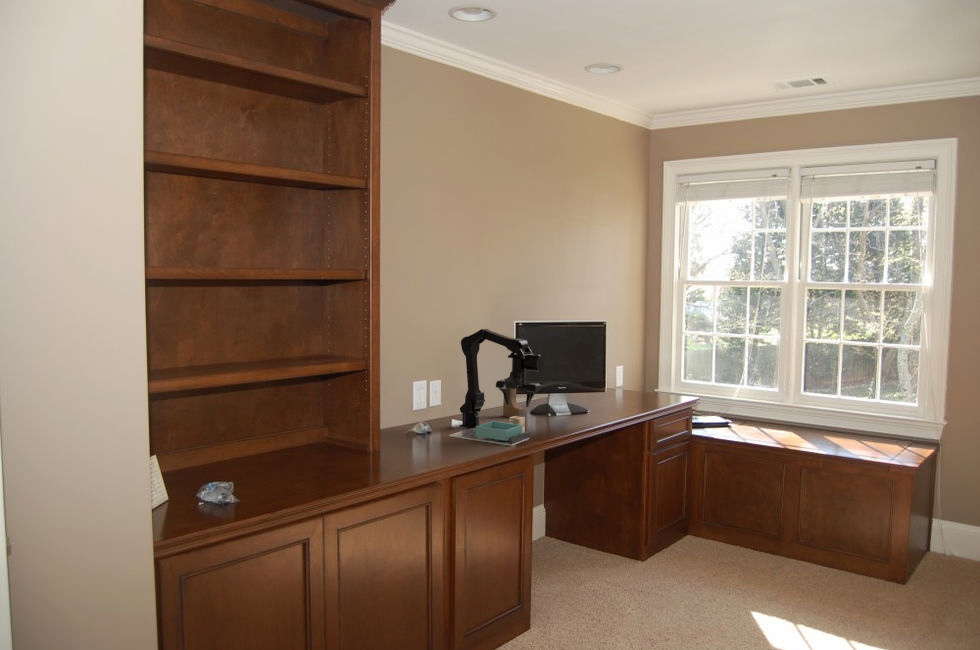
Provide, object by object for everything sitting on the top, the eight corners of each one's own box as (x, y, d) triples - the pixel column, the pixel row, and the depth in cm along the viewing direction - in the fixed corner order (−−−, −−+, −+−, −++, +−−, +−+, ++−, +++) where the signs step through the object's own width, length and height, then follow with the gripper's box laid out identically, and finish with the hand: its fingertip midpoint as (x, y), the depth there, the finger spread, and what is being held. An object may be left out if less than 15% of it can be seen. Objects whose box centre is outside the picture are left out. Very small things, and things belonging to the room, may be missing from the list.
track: (448, 436, 312) (449, 429, 312) (468, 430, 326) (468, 423, 326) (511, 445, 298) (511, 438, 298) (529, 438, 312) (529, 431, 312)
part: (508, 434, 320) (509, 417, 320) (514, 432, 325) (514, 415, 324) (519, 435, 318) (519, 419, 318) (524, 433, 322) (525, 417, 322)
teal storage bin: (475, 437, 307) (475, 426, 307) (492, 431, 319) (492, 421, 319) (506, 442, 300) (506, 430, 300) (522, 436, 312) (522, 425, 312)
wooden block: (523, 417, 360) (525, 379, 359) (518, 418, 356) (520, 380, 355) (507, 415, 365) (509, 377, 364) (502, 416, 361) (503, 378, 360)
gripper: (490, 369, 317) (488, 406, 318) (530, 373, 308) (529, 411, 309) (502, 366, 327) (501, 402, 328) (541, 370, 318) (540, 407, 319)
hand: (517, 405), depth 321 cm, fingers open, 9 cm apart
